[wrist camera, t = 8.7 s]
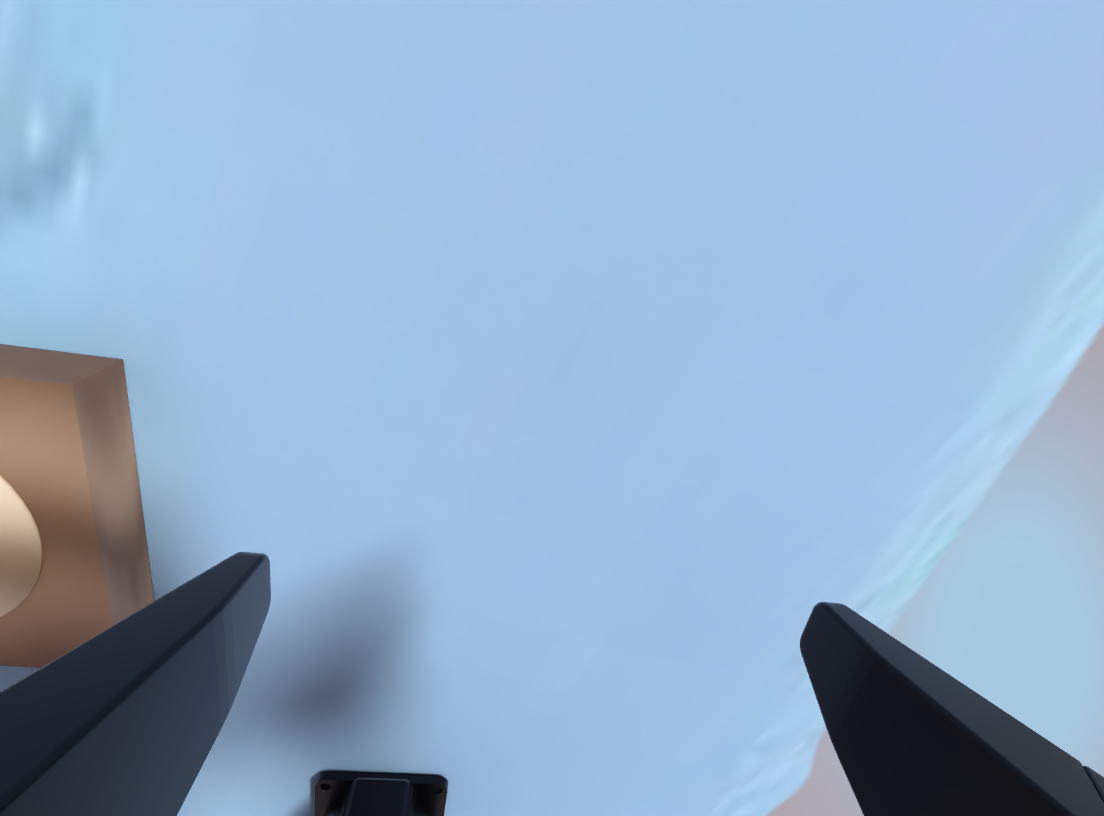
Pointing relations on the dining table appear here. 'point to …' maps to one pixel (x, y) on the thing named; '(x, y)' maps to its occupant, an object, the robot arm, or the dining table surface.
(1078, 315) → the dining table surface
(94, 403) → the walnut plinth
